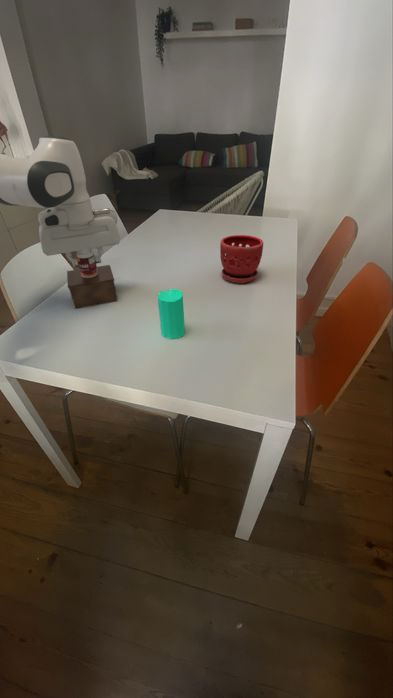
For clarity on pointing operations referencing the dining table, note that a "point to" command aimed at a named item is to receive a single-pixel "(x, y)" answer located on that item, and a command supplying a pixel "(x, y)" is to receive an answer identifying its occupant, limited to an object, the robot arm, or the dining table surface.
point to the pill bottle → (87, 263)
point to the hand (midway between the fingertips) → (87, 264)
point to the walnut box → (92, 287)
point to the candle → (171, 313)
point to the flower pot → (240, 257)
